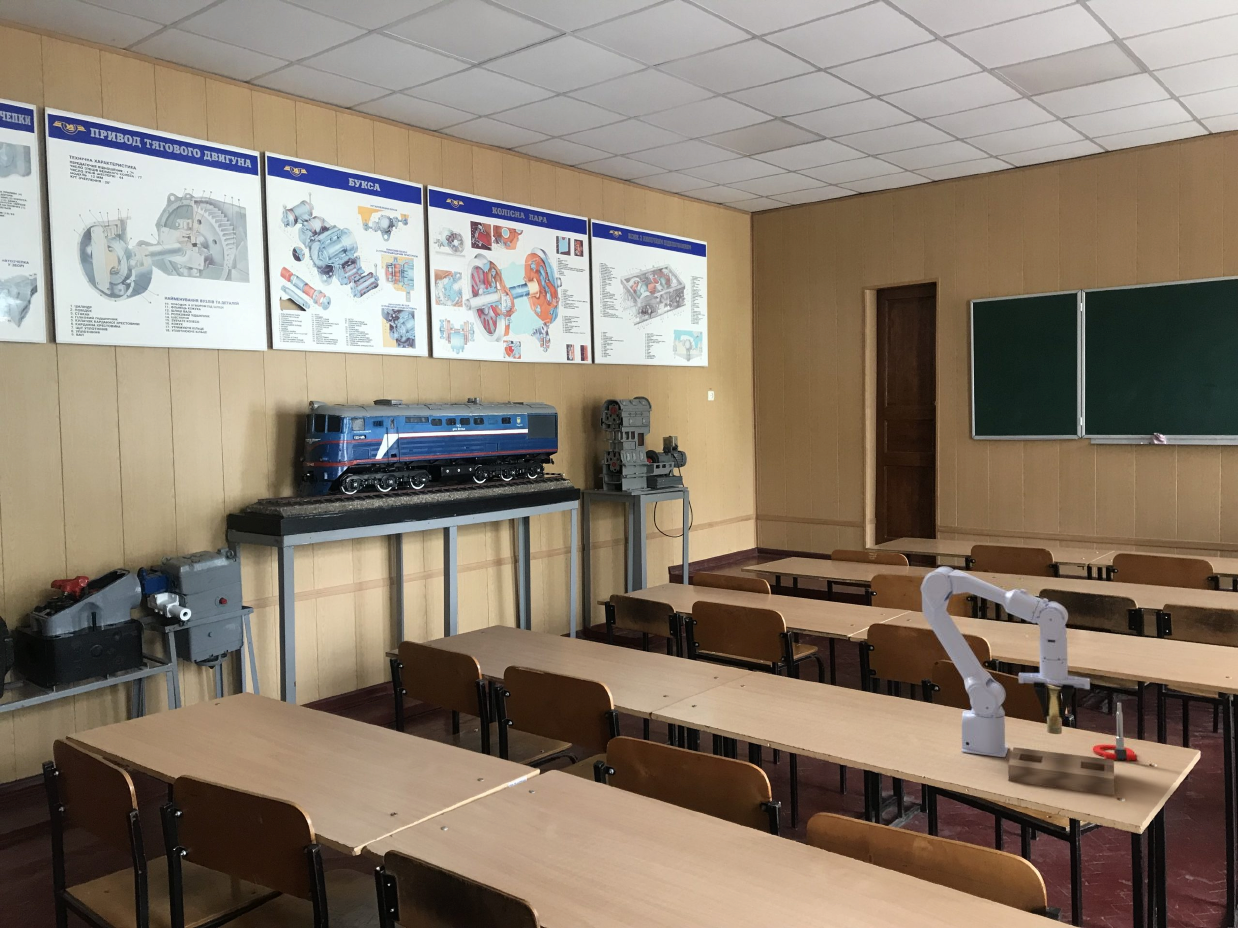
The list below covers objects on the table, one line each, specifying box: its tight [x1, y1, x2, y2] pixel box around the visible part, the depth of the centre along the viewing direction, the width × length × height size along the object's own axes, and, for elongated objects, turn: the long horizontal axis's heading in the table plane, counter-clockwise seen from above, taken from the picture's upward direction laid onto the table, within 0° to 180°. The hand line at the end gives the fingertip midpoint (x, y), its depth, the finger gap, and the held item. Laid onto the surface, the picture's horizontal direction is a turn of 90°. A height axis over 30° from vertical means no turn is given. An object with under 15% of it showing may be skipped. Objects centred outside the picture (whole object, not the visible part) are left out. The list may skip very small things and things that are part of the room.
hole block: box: [1007, 746, 1115, 796], centre depth 201 cm, size 20×12×4 cm, turn 62°
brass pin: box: [1046, 685, 1063, 735], centre depth 211 cm, size 3×3×10 cm
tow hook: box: [1092, 702, 1138, 761], centre depth 215 cm, size 8×13×9 cm
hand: (1054, 716), depth 211 cm, fingers closed on brass pin, 3 cm apart
